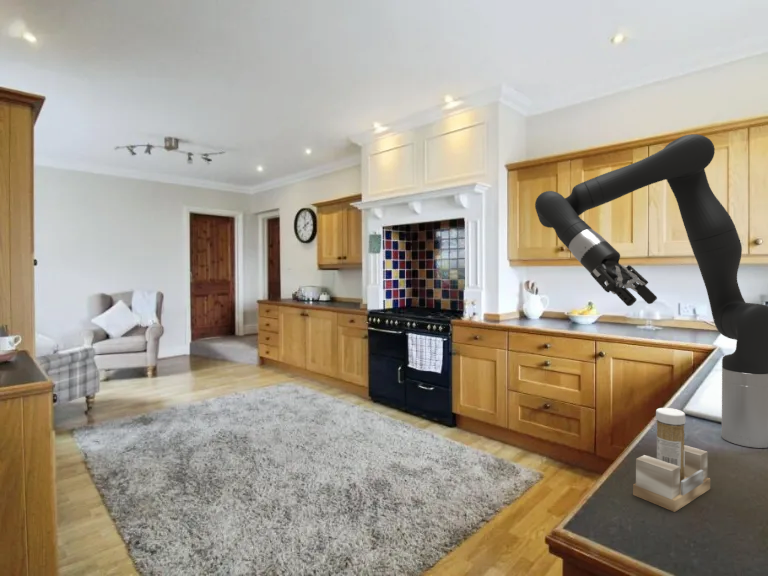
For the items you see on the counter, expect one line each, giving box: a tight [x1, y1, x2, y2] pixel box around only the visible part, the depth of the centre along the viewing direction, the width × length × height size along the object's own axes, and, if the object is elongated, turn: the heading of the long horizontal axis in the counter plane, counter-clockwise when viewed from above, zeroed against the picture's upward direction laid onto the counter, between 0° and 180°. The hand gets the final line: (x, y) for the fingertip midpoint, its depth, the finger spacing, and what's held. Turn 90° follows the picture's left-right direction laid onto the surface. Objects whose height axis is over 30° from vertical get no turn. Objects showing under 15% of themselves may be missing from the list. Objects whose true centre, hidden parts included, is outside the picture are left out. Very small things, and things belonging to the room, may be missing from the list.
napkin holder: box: [632, 444, 711, 513], centre depth 81 cm, size 14×7×7 cm, turn 122°
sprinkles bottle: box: [655, 407, 686, 486], centre depth 81 cm, size 5×5×14 cm
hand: (643, 302), depth 94 cm, fingers open, 8 cm apart
